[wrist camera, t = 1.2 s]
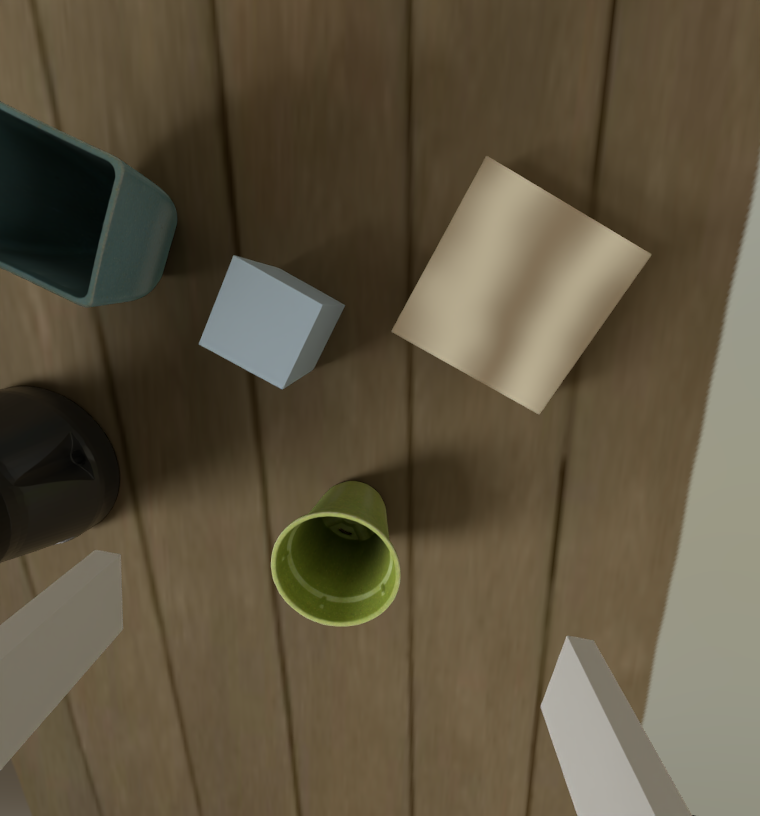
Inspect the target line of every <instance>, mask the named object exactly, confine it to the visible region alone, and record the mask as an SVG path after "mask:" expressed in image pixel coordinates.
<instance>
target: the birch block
mask: <svg viewBox="0 0 760 816" xmlns="http://www.w3.org/2000/svg"><path fill="white" fill-rule="evenodd" d="M651 255H652V254H650V253H648V252H647V251H645V250H643V249H642V248H640V247H638V246H637V245H635V244H633V243H632V242H630V241H628V240H627V239H625V238H623V237H622V236H620V235H618V234H617V233H615V232H613V231H612V230H610V229H608V228H607V227H605V226H603V225H602V224H600V223H598V222H597V221H595V220H593V219H592V218H590V217H588V216H587V215H585V214H583V213H582V212H580V211H578V210H577V209H575V208H573V207H572V206H570V205H568V204H567V203H565V202H563V201H562V200H560V199H558V198H557V197H555V196H553V195H552V194H550V193H548V192H547V191H545V190H543V189H542V188H540V187H538V186H537V185H535V184H533V183H532V182H530V181H528V180H527V179H525V178H523V177H522V176H520V175H518V174H517V173H515V172H513V171H512V170H510V169H508V168H506V167H505V166H503V165H501V164H500V163H498V162H496V161H495V160H493V159H491V158H490V157H488V156H486V157H485V159H484V161H483V163H482V165H481V167H480V169H479V170H478V172H477V174H476V176H475V178H474V180H473V181H472V183H471V185H470V187H469V189H468V191H467V193H466V194H465V196H464V198H463V200H462V202H461V204H460V205H459V207H458V209H457V211H456V213H455V215H454V217H453V218H452V220H451V222H450V224H449V226H448V228H447V229H446V231H445V233H444V235H443V237H442V239H441V241H440V242H439V244H438V246H437V248H436V250H435V252H434V253H433V255H432V257H431V259H430V261H429V263H428V265H427V266H426V268H425V270H424V272H423V274H422V276H421V277H420V279H419V281H418V283H417V285H416V287H415V289H414V290H413V292H412V294H411V296H410V298H409V300H408V301H407V303H406V305H405V307H404V309H403V311H402V312H401V314H400V316H399V318H398V320H397V322H396V324H395V325H394V327H393V329H392V331H391V332H393V333H395V334H396V335H398V336H400V337H402V338H403V339H405V340H407V341H409V342H411V343H412V344H414V345H416V346H418V347H419V348H421V349H423V350H425V351H427V352H428V353H430V354H432V355H434V356H436V357H437V358H439V359H441V360H443V361H444V362H446V363H448V364H450V365H452V366H453V367H455V368H457V369H459V370H460V371H462V372H464V373H466V374H468V375H469V376H471V377H473V378H475V379H477V380H478V381H480V382H482V383H484V384H485V385H487V386H489V387H491V388H493V389H494V390H496V391H498V392H500V393H501V394H503V395H505V396H507V397H509V398H510V399H512V400H514V401H516V402H518V403H519V404H521V405H523V406H525V407H526V408H528V409H530V410H532V411H534V412H535V413H537V414H540V413H541V411H542V410H543V408H544V407H545V406H546V404H547V403H548V401H549V400H550V398H551V397H552V396H553V394H554V393H555V391H556V390H557V388H558V387H559V386H560V384H561V383H562V381H563V380H564V379H565V377H566V376H567V374H568V373H569V371H570V370H571V369H572V367H573V366H574V364H575V363H576V361H577V360H578V359H579V357H580V356H581V354H582V353H583V352H584V350H585V349H586V347H587V346H588V344H589V343H590V342H591V340H592V339H593V337H594V336H595V334H596V333H597V332H598V330H599V329H600V327H601V326H602V325H603V323H604V322H605V320H606V319H607V317H608V316H609V315H610V313H611V312H612V310H613V309H614V307H615V306H616V305H617V303H618V302H619V300H620V299H621V298H622V296H623V295H624V293H625V292H626V290H627V289H628V288H629V286H630V285H631V283H632V282H633V280H634V279H635V278H636V276H637V275H638V273H639V272H640V271H641V269H642V268H643V266H644V265H645V263H646V262H647V261H648V259H649V258H650V256H651Z"/></svg>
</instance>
